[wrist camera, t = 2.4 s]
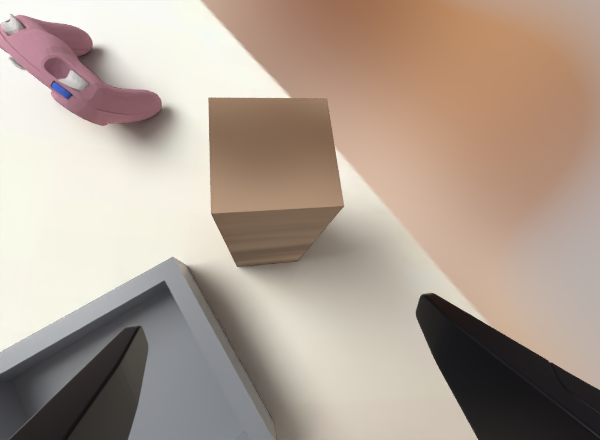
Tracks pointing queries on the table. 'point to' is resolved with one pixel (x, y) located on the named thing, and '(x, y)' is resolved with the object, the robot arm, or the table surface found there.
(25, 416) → the tray
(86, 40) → the video game controller
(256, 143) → the walnut handle block
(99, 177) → the table surface
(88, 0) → the table surface
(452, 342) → the robot arm
